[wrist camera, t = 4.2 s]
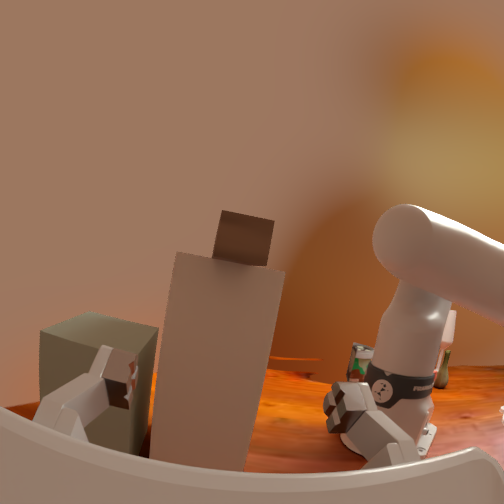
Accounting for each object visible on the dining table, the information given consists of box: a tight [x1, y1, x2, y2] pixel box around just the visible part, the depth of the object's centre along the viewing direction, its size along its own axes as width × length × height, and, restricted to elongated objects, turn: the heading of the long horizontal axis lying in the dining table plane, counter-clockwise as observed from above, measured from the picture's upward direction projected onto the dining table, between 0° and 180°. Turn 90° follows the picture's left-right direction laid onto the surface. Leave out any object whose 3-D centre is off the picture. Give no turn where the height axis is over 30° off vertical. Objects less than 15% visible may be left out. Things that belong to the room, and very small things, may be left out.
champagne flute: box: [435, 310, 456, 372], centre depth 94 cm, size 7×7×24 cm
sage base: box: [39, 311, 159, 456], centre depth 31 cm, size 14×10×16 cm
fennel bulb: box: [434, 350, 451, 388], centre depth 78 cm, size 6×5×12 cm
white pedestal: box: [149, 252, 285, 472], centre depth 35 cm, size 15×10×26 cm, turn 8°
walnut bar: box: [212, 210, 274, 266], centre depth 31 cm, size 21×4×3 cm, turn 8°
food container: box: [346, 343, 374, 383], centre depth 82 cm, size 12×6×10 cm, turn 166°
